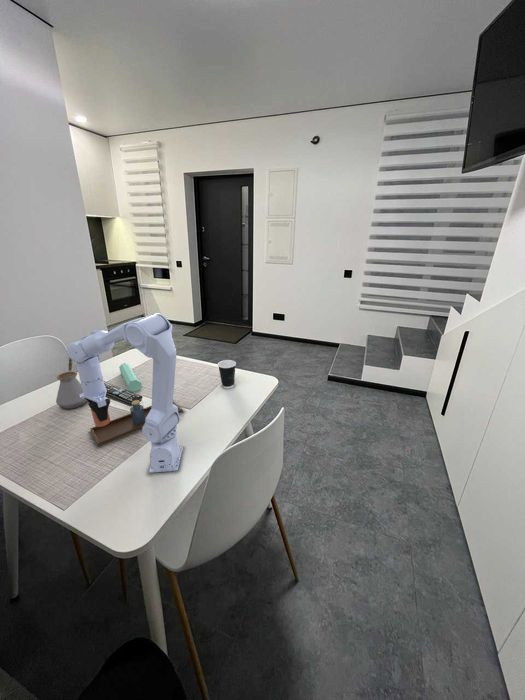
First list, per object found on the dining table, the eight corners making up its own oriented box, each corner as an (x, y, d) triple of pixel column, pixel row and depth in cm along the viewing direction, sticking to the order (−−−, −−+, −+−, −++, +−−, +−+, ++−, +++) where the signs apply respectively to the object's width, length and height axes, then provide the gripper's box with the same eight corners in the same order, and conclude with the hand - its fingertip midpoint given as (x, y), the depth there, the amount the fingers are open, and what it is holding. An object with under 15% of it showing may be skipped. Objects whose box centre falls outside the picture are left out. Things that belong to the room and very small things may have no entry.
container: (119, 360, 140) (129, 379, 120) (131, 361, 143) (143, 380, 124) (116, 371, 140) (125, 392, 121) (128, 372, 144) (140, 393, 125)
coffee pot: (90, 407, 112) (80, 373, 107) (55, 414, 108) (43, 379, 102) (94, 383, 130) (86, 353, 125) (64, 389, 126) (55, 358, 120)
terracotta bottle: (107, 426, 89) (101, 404, 86) (92, 427, 88) (86, 405, 85) (112, 418, 93) (107, 396, 90) (98, 418, 92) (92, 397, 89)
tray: (171, 401, 116) (171, 398, 115) (183, 412, 109) (182, 409, 108) (91, 432, 98) (90, 428, 97) (98, 447, 91) (97, 443, 90)
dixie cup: (235, 390, 124) (234, 367, 120) (217, 389, 125) (215, 367, 120) (238, 381, 131) (237, 360, 127) (221, 381, 132) (220, 359, 128)
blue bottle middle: (143, 424, 101) (140, 405, 98) (131, 425, 101) (126, 405, 98) (147, 416, 105) (143, 398, 102) (134, 417, 105) (131, 399, 102)
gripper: (71, 373, 87) (81, 411, 92) (81, 392, 77) (92, 433, 82) (96, 367, 92) (105, 403, 97) (109, 383, 81) (118, 423, 87)
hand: (101, 416), depth 90 cm, fingers closed on terracotta bottle, 4 cm apart
